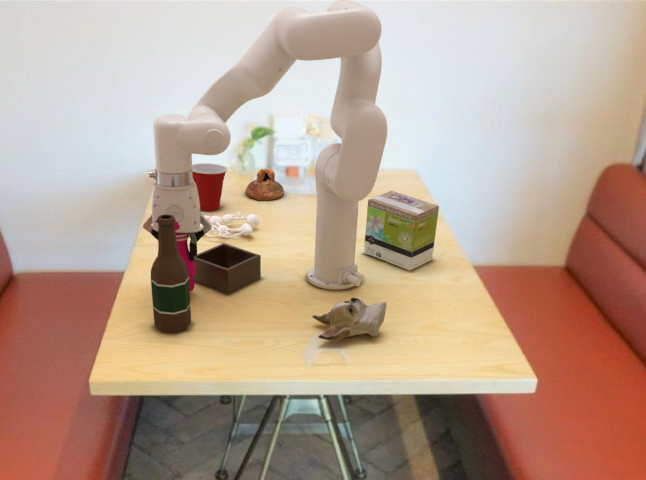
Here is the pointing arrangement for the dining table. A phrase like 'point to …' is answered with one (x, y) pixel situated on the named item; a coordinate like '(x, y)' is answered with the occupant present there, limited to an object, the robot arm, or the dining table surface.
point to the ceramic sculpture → (352, 319)
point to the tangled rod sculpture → (223, 230)
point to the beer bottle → (170, 281)
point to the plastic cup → (209, 184)
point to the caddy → (227, 268)
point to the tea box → (400, 229)
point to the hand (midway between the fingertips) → (179, 257)
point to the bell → (265, 186)
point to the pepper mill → (185, 255)
